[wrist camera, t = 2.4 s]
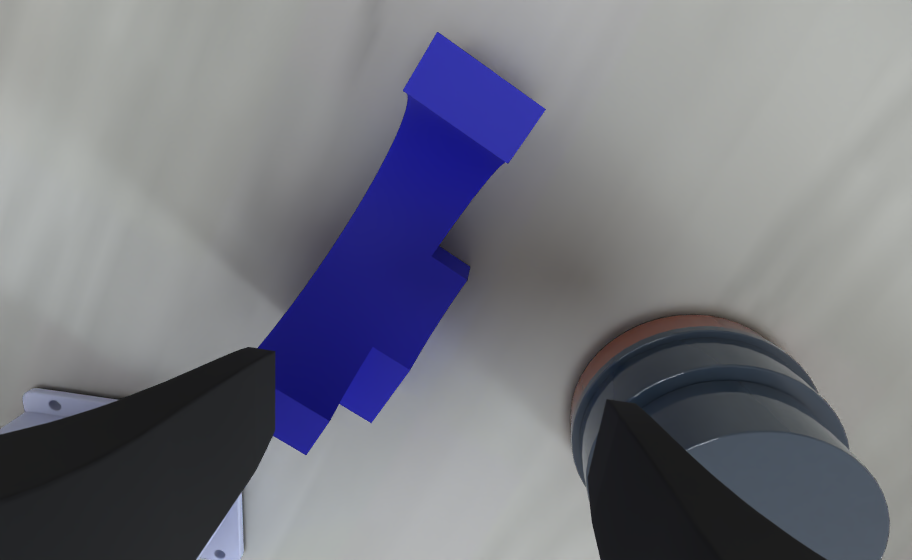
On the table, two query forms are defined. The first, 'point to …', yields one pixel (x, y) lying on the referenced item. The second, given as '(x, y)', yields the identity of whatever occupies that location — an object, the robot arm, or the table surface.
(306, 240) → the table surface
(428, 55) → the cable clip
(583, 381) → the cup stack
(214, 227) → the table surface
